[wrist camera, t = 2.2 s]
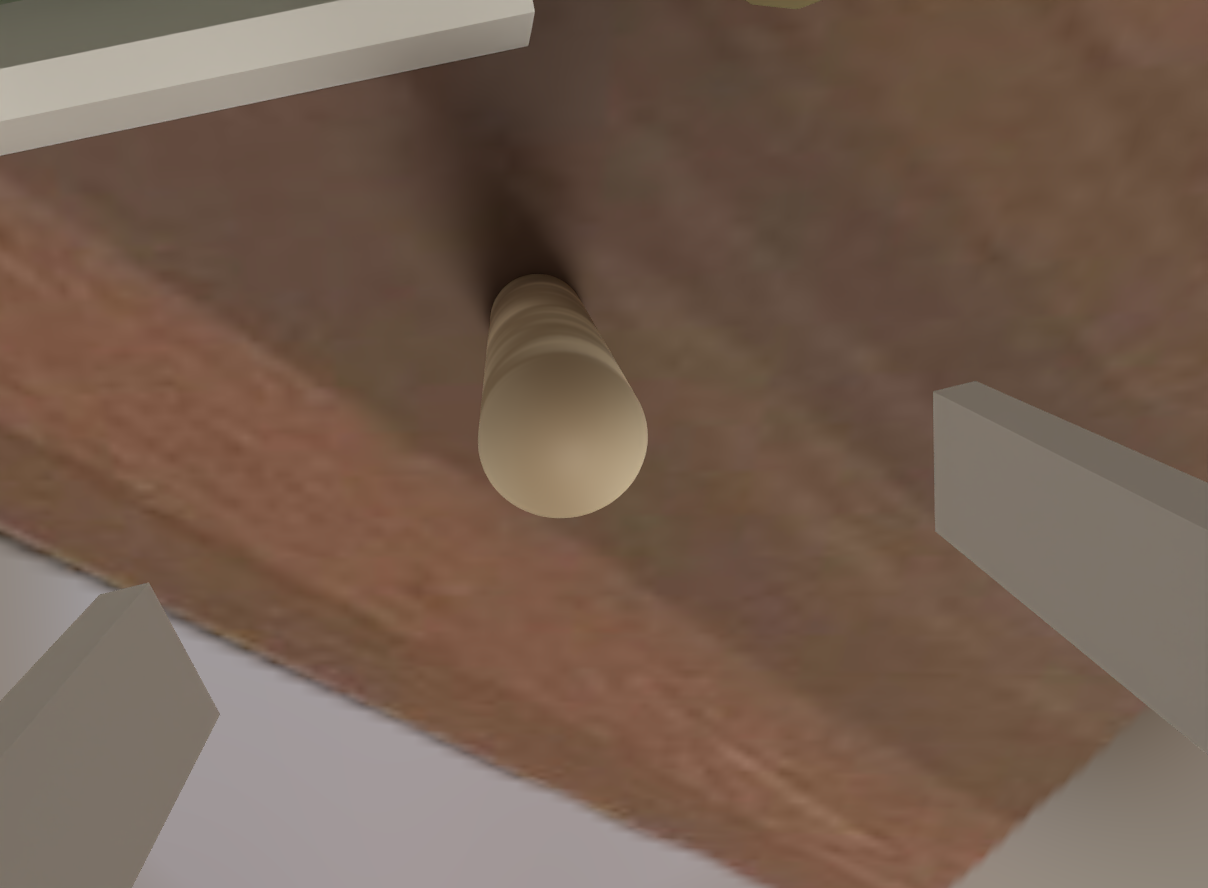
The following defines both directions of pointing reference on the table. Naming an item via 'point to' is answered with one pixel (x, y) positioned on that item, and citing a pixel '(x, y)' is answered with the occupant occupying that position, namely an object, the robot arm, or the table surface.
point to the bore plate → (7, 1)
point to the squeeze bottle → (783, 3)
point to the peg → (555, 405)
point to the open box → (217, 55)
